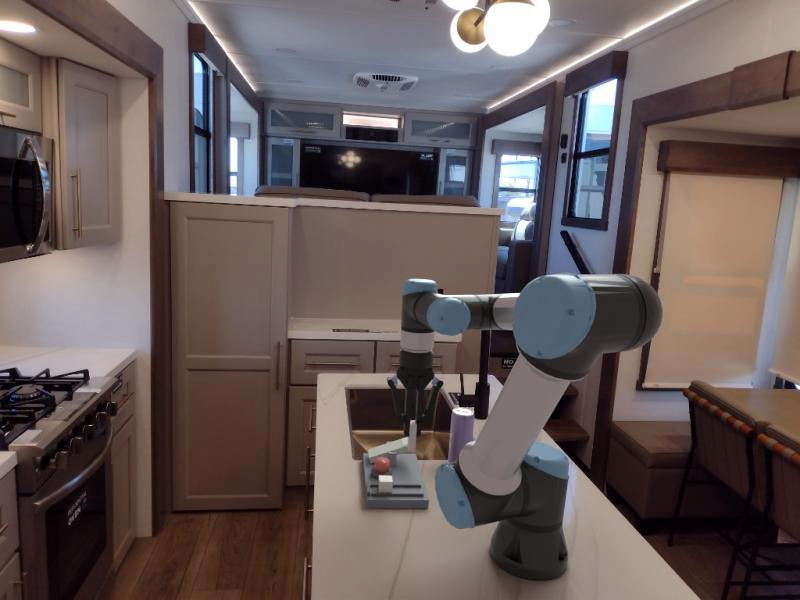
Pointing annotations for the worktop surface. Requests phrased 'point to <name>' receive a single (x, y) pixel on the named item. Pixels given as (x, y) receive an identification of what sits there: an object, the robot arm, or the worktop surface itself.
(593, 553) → the worktop surface
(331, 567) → the worktop surface
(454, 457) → the beverage can
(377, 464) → the button
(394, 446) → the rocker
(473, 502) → the robot arm
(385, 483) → the slider knob
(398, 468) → the console
